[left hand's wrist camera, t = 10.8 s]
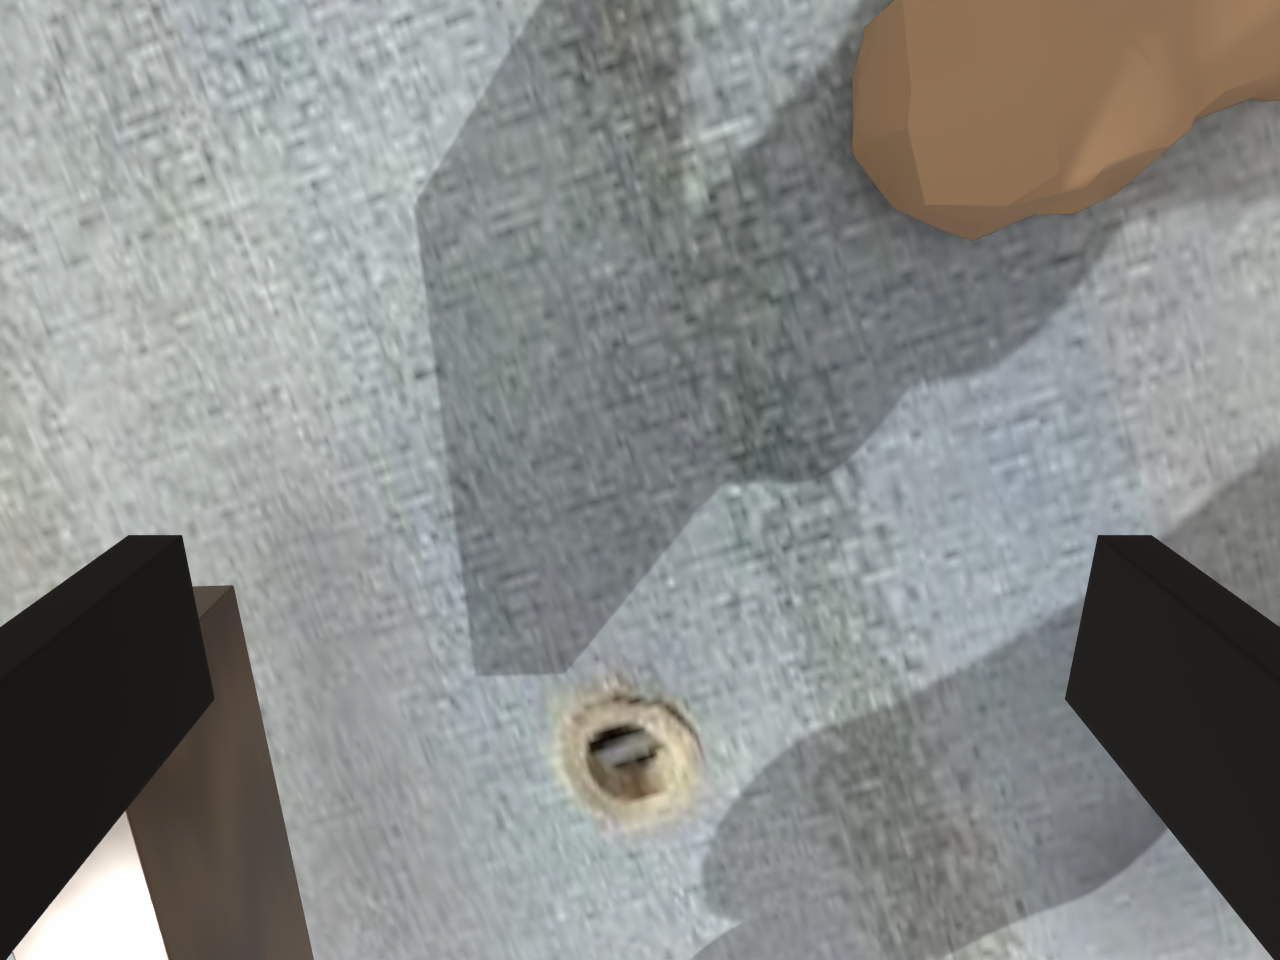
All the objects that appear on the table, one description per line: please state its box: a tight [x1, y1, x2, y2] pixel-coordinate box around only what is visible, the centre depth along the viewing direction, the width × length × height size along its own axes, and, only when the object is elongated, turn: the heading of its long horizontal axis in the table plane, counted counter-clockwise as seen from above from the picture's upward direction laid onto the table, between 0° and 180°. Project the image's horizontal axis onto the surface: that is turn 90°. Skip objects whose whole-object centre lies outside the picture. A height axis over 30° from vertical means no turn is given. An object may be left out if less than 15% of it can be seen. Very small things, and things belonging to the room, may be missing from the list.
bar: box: [12, 585, 314, 960], centre depth 32 cm, size 26×5×8 cm, turn 2°
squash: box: [852, 0, 1280, 241], centre depth 33 cm, size 11×20×9 cm, turn 106°
